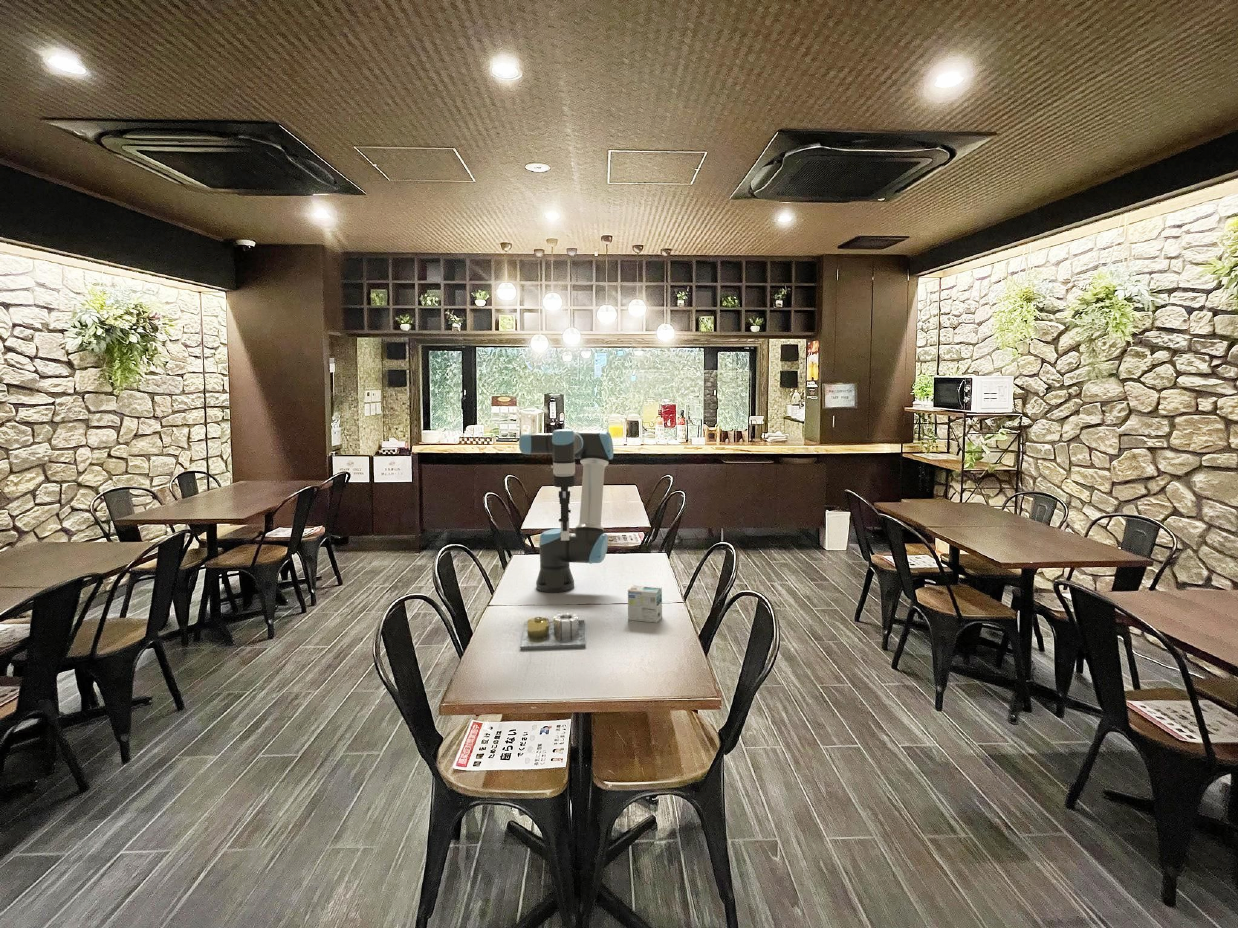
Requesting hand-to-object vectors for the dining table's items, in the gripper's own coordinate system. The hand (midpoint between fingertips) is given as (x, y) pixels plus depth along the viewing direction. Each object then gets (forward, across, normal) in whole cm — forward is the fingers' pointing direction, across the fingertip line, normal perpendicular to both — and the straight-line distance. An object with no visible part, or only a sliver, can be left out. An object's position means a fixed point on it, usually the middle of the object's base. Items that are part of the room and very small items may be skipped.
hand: (565, 535), depth 242 cm
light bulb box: (+29, +5, +27) cm, 40 cm away
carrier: (+29, +19, -4) cm, 35 cm away
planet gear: (+28, +19, 0) cm, 33 cm away
